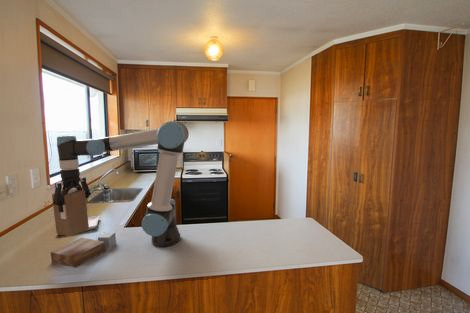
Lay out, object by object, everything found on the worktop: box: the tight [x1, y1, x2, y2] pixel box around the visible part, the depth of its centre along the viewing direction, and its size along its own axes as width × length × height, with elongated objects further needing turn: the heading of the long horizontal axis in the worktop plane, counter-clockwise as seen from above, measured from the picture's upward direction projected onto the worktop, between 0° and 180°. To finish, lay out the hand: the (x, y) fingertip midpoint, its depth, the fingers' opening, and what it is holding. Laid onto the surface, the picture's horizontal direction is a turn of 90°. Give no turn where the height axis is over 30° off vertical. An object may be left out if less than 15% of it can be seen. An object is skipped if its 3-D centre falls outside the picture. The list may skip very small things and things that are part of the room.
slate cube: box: [97, 231, 117, 249], centre depth 134 cm, size 6×6×6 cm
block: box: [51, 188, 89, 237], centre depth 122 cm, size 10×10×20 cm
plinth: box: [50, 237, 107, 269], centre depth 123 cm, size 16×16×5 cm
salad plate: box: [55, 215, 101, 234], centre depth 160 cm, size 21×21×3 cm
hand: (74, 214), depth 121 cm, fingers closed on block, 10 cm apart
